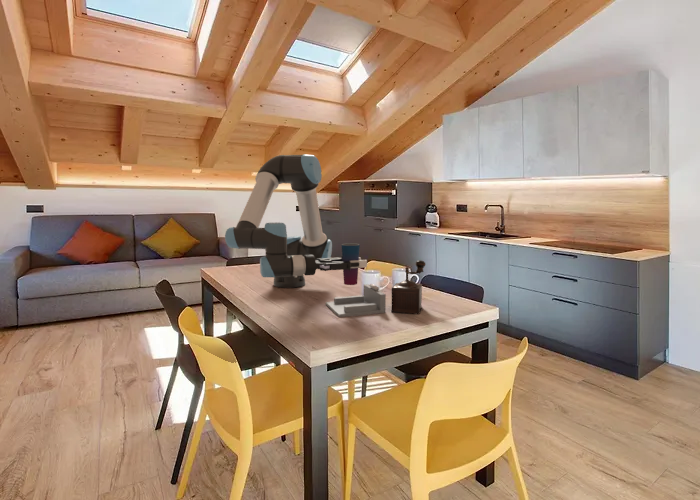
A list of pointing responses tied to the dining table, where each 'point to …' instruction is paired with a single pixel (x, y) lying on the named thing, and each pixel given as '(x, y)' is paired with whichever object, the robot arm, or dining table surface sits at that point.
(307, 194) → the robot arm
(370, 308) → the dock
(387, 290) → the dining table surface
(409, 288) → the manual coffee grinder
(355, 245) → the cup
